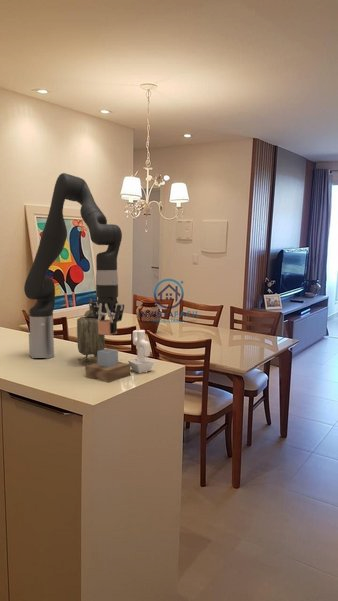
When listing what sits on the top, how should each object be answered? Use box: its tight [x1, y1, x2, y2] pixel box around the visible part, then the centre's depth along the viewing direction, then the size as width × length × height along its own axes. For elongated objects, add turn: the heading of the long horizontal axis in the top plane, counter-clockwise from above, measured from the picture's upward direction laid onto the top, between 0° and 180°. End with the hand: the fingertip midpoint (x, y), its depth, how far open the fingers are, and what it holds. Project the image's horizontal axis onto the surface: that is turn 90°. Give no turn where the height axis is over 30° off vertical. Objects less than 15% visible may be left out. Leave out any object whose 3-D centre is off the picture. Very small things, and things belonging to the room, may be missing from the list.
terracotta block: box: [98, 319, 118, 336], centre depth 158 cm, size 4×4×4 cm
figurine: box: [127, 329, 156, 374], centre depth 165 cm, size 7×9×15 cm
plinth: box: [85, 361, 132, 383], centre depth 159 cm, size 11×11×4 cm
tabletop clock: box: [76, 298, 106, 363], centre depth 179 cm, size 14×9×25 cm, turn 16°
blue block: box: [96, 348, 119, 367], centre depth 159 cm, size 5×5×5 cm
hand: (107, 332), depth 158 cm, fingers closed on terracotta block, 4 cm apart
